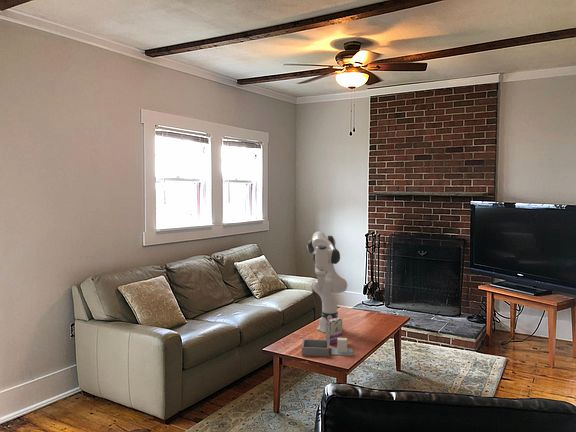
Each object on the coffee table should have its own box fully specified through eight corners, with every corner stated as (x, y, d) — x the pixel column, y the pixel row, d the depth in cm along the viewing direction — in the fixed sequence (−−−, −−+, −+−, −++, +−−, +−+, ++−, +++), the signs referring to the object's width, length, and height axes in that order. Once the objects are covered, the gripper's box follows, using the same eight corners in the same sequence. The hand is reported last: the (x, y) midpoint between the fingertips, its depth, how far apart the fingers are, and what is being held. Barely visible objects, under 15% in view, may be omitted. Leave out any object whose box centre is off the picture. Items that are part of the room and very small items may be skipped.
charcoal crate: (303, 346, 300) (303, 339, 300) (328, 347, 299) (328, 340, 299) (301, 355, 285) (301, 347, 284) (328, 356, 283) (328, 348, 283)
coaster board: (331, 348, 297) (331, 347, 297) (352, 349, 296) (352, 348, 296) (331, 355, 285) (331, 354, 285) (353, 356, 284) (353, 355, 284)
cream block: (337, 349, 293) (337, 337, 293) (346, 350, 293) (346, 338, 292) (337, 352, 289) (337, 339, 288) (346, 352, 288) (347, 340, 288)
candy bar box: (337, 340, 313) (337, 317, 312) (342, 342, 309) (342, 318, 308) (325, 343, 307) (325, 319, 306) (330, 345, 303) (330, 321, 302)
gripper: (317, 267, 309) (316, 287, 310) (316, 273, 289) (316, 294, 290) (326, 267, 309) (326, 287, 310) (326, 273, 288) (325, 294, 289)
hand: (321, 291), depth 300 cm, fingers open, 8 cm apart
